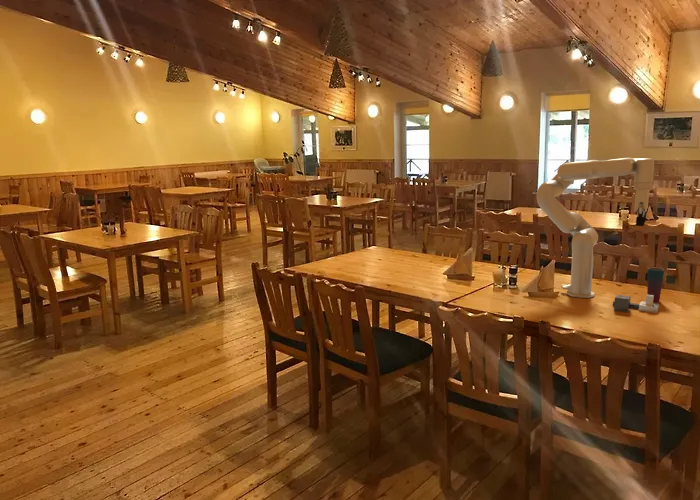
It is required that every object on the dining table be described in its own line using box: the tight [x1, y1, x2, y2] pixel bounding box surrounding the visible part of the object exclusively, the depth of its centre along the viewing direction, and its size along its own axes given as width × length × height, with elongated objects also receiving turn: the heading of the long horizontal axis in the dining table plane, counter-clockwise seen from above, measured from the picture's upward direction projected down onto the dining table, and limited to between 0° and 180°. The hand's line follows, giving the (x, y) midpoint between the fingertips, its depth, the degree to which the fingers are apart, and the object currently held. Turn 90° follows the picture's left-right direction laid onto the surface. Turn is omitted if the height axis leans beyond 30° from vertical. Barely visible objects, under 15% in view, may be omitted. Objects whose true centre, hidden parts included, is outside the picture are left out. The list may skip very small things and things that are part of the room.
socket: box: [613, 294, 632, 313], centre depth 259 cm, size 6×6×6 cm
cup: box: [646, 267, 665, 303], centre depth 272 cm, size 7×7×15 cm
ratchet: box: [612, 294, 660, 314], centre depth 262 cm, size 18×7×6 cm, turn 57°
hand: (640, 224), depth 265 cm, fingers open, 9 cm apart
